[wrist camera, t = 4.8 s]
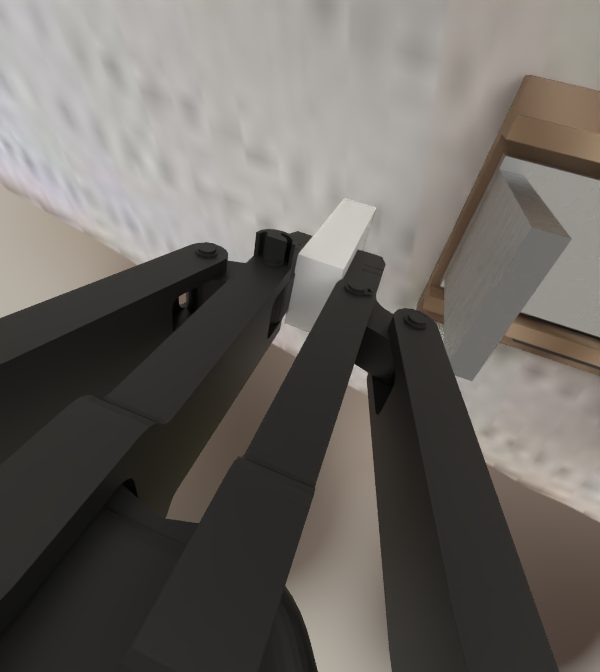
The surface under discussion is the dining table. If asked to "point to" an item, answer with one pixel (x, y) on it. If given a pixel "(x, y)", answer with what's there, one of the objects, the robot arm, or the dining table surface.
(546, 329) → the tunnel board
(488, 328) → the grey u-shaped piece
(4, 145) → the dining table surface
